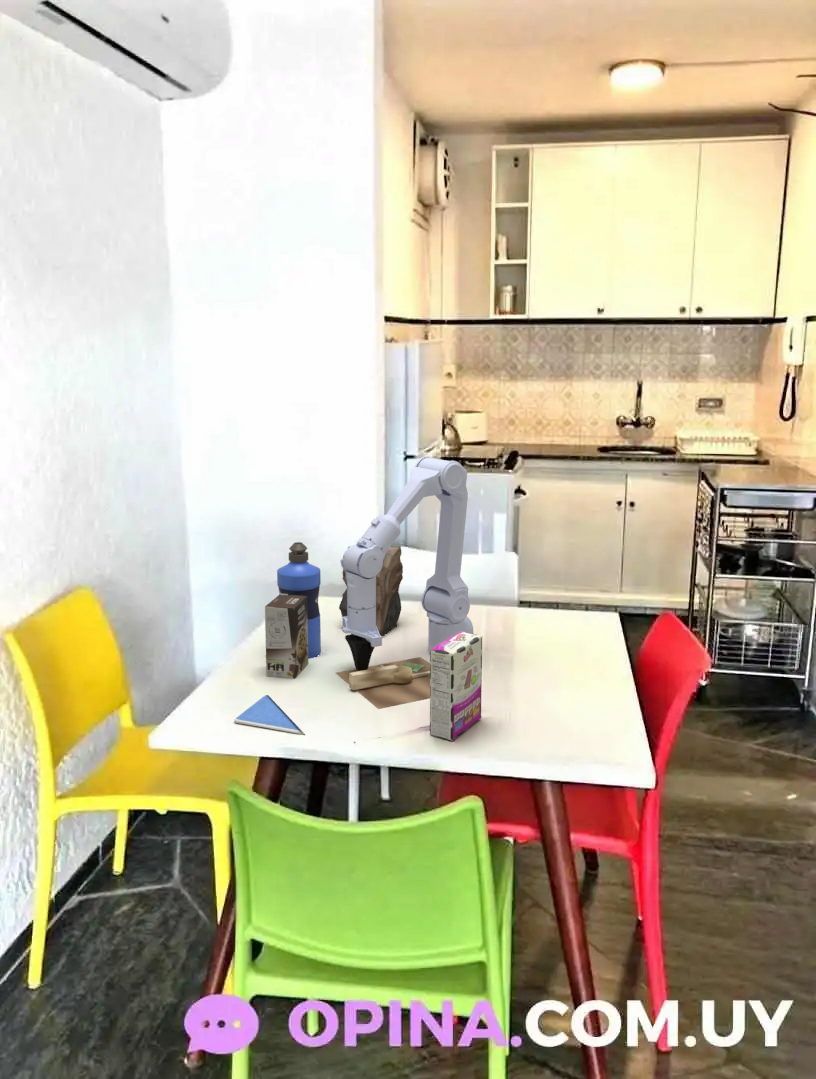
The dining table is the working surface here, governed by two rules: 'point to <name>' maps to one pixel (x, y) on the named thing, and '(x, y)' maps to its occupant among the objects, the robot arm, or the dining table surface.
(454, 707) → the candy bar box
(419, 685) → the dial board
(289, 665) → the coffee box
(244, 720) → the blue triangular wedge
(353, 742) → the dining table surface
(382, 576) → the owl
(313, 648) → the water bottle
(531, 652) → the dining table surface
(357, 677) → the dial lever
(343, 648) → the dining table surface
